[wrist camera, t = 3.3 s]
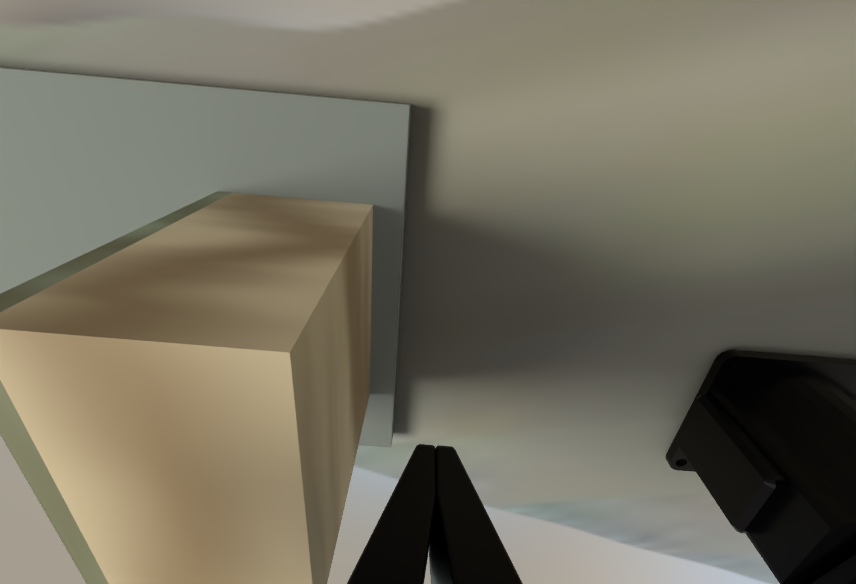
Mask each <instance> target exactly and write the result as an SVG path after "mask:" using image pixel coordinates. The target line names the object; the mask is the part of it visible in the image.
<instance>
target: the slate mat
mask: <svg viewBox="0 0 856 584" xmlns="http://www.w3.org/2000/svg"><path fill="white" fill-rule="evenodd" d="M410 117H411V104H406V103H395V102H384V101H373V100H362V99H350V98H339V97H328V96H317V95H306V94H295V93H284V92H273V91H262V90H251V89H240V88H229V87H218V86H207V85H196V84H184V83H173V82H162V81H151V80H140V79H129V78H118V77H107V76H96V75H85V74H74V73H63V72H52V71H41V70H30V69H19V68H7V67H0V294H1V293H3V292H5V291H7V290H9V289H11V288H13V287H16V286H18V285H20V284H22V283H24V282H26V281H28V280H30V279H33V278H35V277H37V276H39V275H41V274H43V273H45V272H47V271H49V270H52V269H54V268H56V267H58V266H60V265H62V264H64V263H66V262H69V261H71V260H73V259H75V258H77V257H79V256H81V255H83V254H85V253H88V252H90V251H92V250H94V249H96V248H98V247H100V246H102V245H105V244H107V243H109V242H111V241H113V240H115V239H117V238H119V237H121V236H124V235H126V234H128V233H130V232H132V231H134V230H136V229H138V228H141V227H143V226H145V225H147V224H149V223H151V222H153V221H155V220H157V219H160V218H162V217H164V216H166V215H168V214H170V213H172V212H174V211H177V210H179V209H181V208H183V207H185V206H187V205H189V204H191V203H193V202H196V201H198V200H200V199H202V198H204V197H206V196H208V195H210V194H213V193H215V192H217V191H220V192H231V193H243V194H254V195H266V196H278V197H289V198H301V199H312V200H324V201H335V202H347V203H358V204H370V205H373V234H372V293H371V352H370V396H369V400H368V405H367V409H366V413H365V418H364V422H363V427H362V431H361V436H360V440H359V444H358V445H367V446H379V447H391V444H392V437H393V424H394V405H395V387H396V369H397V351H398V333H399V315H400V297H401V279H402V261H403V243H404V225H405V207H406V189H407V171H408V153H409V135H410Z"/></svg>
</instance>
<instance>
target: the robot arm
mask: <svg viewBox="0 0 856 584" xmlns="http://www.w3.org/2000/svg"><path fill="white" fill-rule="evenodd" d="M730 363H731V364H730ZM666 460H667V462H668V463H669V465H670V467H671V468H673V469H675V470H682V471H695V472H697V474H698V475H699V477H700V478H701V480H702V481H703V483H704V484H705V486H706V487H707V489H708V490H709V492H710V493H711V495H712V496H713V498H714V499H715V501H716V503H717V504H718V506H719V507H720V509H721V510H722V512H723V513H724V515H725V516H726V518H727V519H728V521H729V522H730V524H731V525H732V526H733V527H734V529H735V530H736V531H737V532H740V533H746V535H747V536H748V538H749V539H750V540H751V542H752V543H753V545H754V546H755V548H756V549H757V551H758V552H759V554H760V555H761V557H762V558H763V559H764V561H765V562H766V564H767V565H768V567H769V568H770V570H771V571H772V573H773V574H774V576H775V577H776V578H777V580H778V581H779V583H780V584H856V360H845V359H833V358H821V357H809V356H797V355H785V354H773V353H761V352H748V351H736V350H729V351H725V352H722V353H721V354H720V355H718V356H717V357H716V359H715V360H714V362H713V364H712V366H711V368H710V370H709V372H708V374H707V376H706V378H705V380H704V382H703V384H702V386H701V388H700V390H699V392H698V394H697V396H696V397H695V399H694V401H693V403H692V405H691V407H690V409H689V411H688V413H687V415H686V417H685V419H684V421H683V423H682V425H681V427H680V429H679V431H678V433H677V434H676V436H675V438H674V440H673V442H672V444H671V446H670V448H669V450H668V452H667V454H666ZM428 551H429V557H430V575H431V584H522V582H521V580H520V578H519V576H518V574H517V572H516V570H515V568H514V566H513V564H512V562H511V560H510V558H509V556H508V554H507V552H506V550H505V548H504V546H503V544H502V542H501V540H500V538H499V536H498V534H497V532H496V530H495V528H494V526H493V524H492V522H491V520H490V518H489V516H488V514H487V512H486V510H485V508H484V506H483V504H482V502H481V500H480V498H479V496H478V494H477V492H476V490H475V488H474V486H473V484H472V482H471V480H470V478H469V476H468V474H467V472H466V470H465V468H464V466H463V464H462V462H461V460H460V458H459V456H458V454H457V452H456V450H455V449H454V448H453V447H451V446H437V447H436V448H435V447H434V446H433V445H425V444H419V445H417V446H416V448H415V450H414V452H413V454H412V456H411V458H410V460H409V462H408V464H407V466H406V468H405V470H404V472H403V474H402V476H401V478H400V480H399V481H398V483H397V485H396V487H395V489H394V491H393V493H392V496H391V497H390V499H389V502H388V503H387V506H386V507H385V509H384V511H383V513H382V515H381V517H380V519H379V521H378V523H377V525H376V527H375V529H374V531H373V533H372V535H371V537H370V539H369V541H368V543H367V545H366V547H365V549H364V551H363V553H362V555H361V557H360V559H359V561H358V563H357V565H356V567H355V569H354V571H353V573H352V575H351V577H350V579H349V581H348V583H347V584H423V583H424V578H425V571H426V564H427V557H428Z"/></svg>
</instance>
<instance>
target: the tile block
mask: <svg viewBox="0 0 856 584" xmlns="http://www.w3.org/2000/svg"><path fill="white" fill-rule="evenodd" d="M372 234H373V205H370V204H358V203H347V202H335V201H324V200H312V199H301V198H289V197H278V196H266V195H254V194H243V193H231V192H220V191H217V192H215V193H213V194H210V195H208V196H206V197H204V198H202V199H200V200H198V201H196V202H193V203H191V204H189V205H187V206H185V207H183V208H181V209H179V210H177V211H174V212H172V213H170V214H168V215H166V216H164V217H162V218H160V219H157V220H155V221H153V222H151V223H149V224H147V225H145V226H143V227H141V228H138V229H136V230H134V231H132V232H130V233H128V234H126V235H124V236H121V237H119V238H117V239H115V240H113V241H111V242H109V243H107V244H105V245H102V246H100V247H98V248H96V249H94V250H92V251H90V252H88V253H85V254H83V255H81V256H79V257H77V258H75V259H73V260H71V261H69V262H66V263H64V264H62V265H60V266H58V267H56V268H54V269H52V270H49V271H47V272H45V273H43V274H41V275H39V276H37V277H35V278H33V279H30V280H28V281H26V282H24V283H22V284H20V285H18V286H16V287H13V288H11V289H9V290H7V291H5V292H3V293H1V294H0V435H1V437H2V438H3V440H4V442H5V443H6V445H7V447H8V448H9V450H10V452H11V454H12V455H13V457H14V459H15V461H16V462H17V464H18V466H19V468H20V469H21V471H22V473H23V474H24V476H25V478H26V480H27V481H28V483H29V485H30V487H31V488H32V490H33V492H34V493H35V495H36V497H37V499H38V500H39V502H40V504H41V506H42V507H43V509H44V511H45V512H46V514H47V516H48V518H49V520H50V521H51V523H52V525H53V526H54V528H55V530H56V532H57V533H58V535H59V537H60V538H61V540H62V542H63V544H64V545H65V547H66V549H67V551H68V552H69V554H70V556H71V557H72V559H73V561H74V563H75V564H76V566H77V568H78V570H79V571H80V573H81V575H82V577H83V578H84V580H85V582H86V583H87V584H327V581H328V577H329V572H330V568H331V563H332V559H333V555H334V550H335V546H336V541H337V537H338V533H339V528H340V523H341V519H342V515H343V510H344V506H345V501H346V497H347V493H348V488H349V483H350V480H351V475H352V471H353V466H354V462H355V458H356V453H357V449H358V444H359V440H360V436H361V431H362V427H363V422H364V418H365V413H366V409H367V405H368V400H369V396H370V352H371V293H372Z"/></svg>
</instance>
